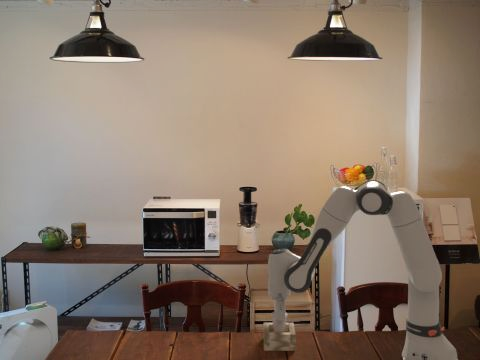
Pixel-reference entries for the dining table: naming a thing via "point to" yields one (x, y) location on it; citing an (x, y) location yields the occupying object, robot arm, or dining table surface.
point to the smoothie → (275, 323)
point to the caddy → (279, 338)
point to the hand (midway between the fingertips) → (279, 324)
